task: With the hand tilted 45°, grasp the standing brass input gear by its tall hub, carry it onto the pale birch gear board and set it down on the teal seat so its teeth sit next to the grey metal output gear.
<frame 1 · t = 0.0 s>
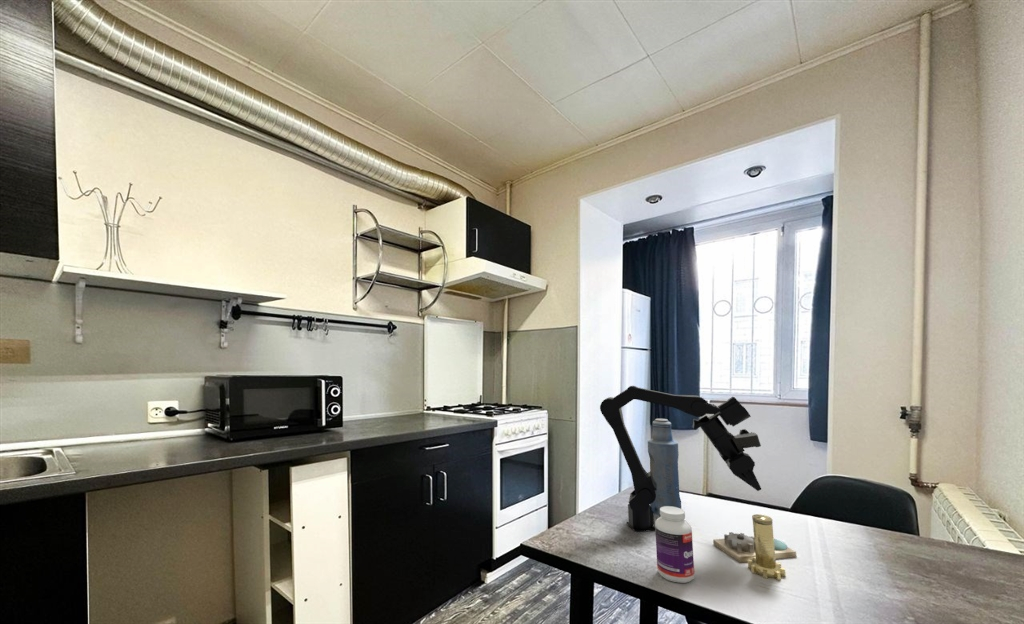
hand: (755, 485, 111), 15 cm above the table, tool tilted 35°, fingers open, 9 cm apart
input gear: (766, 571, 94), on the table
bottle: (666, 512, 132), on the table
gear board: (753, 550, 105), on the table
pill bottle: (675, 576, 93), on the table
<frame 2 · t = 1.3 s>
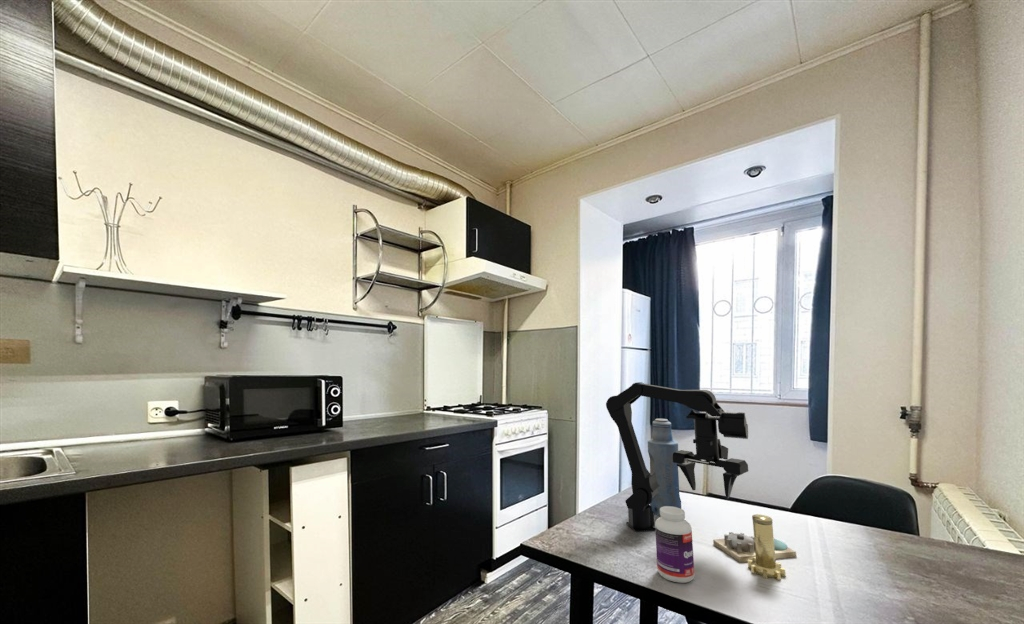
hand: (710, 493, 110), 13 cm above the table, tool pointing down, fingers open, 9 cm apart
nothing on the table moved.
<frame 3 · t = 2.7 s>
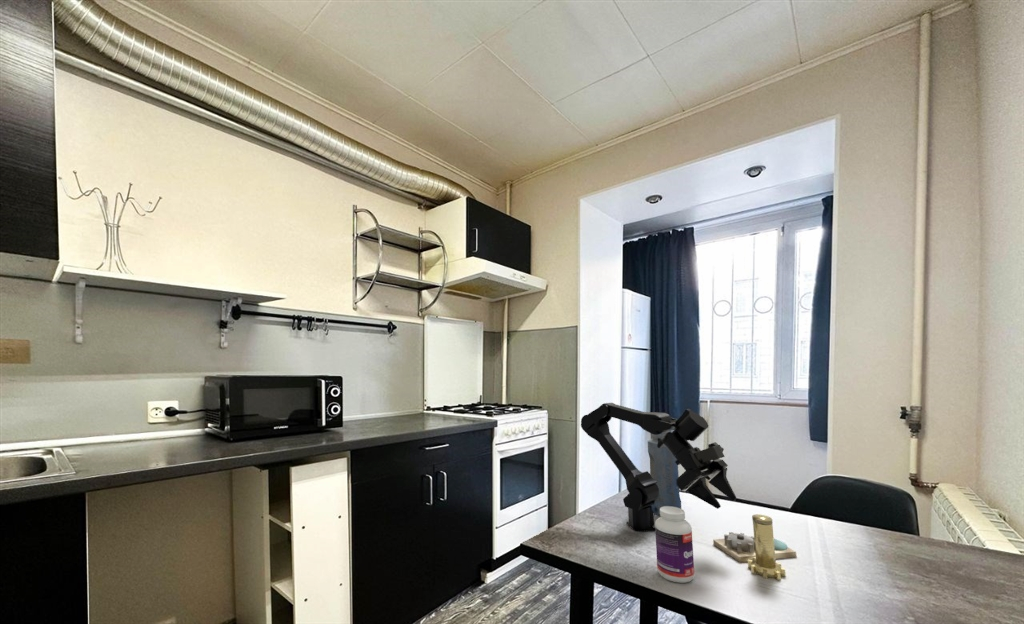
hand: (727, 503, 102), 13 cm above the table, tool tilted 45°, fingers open, 9 cm apart
nothing on the table moved.
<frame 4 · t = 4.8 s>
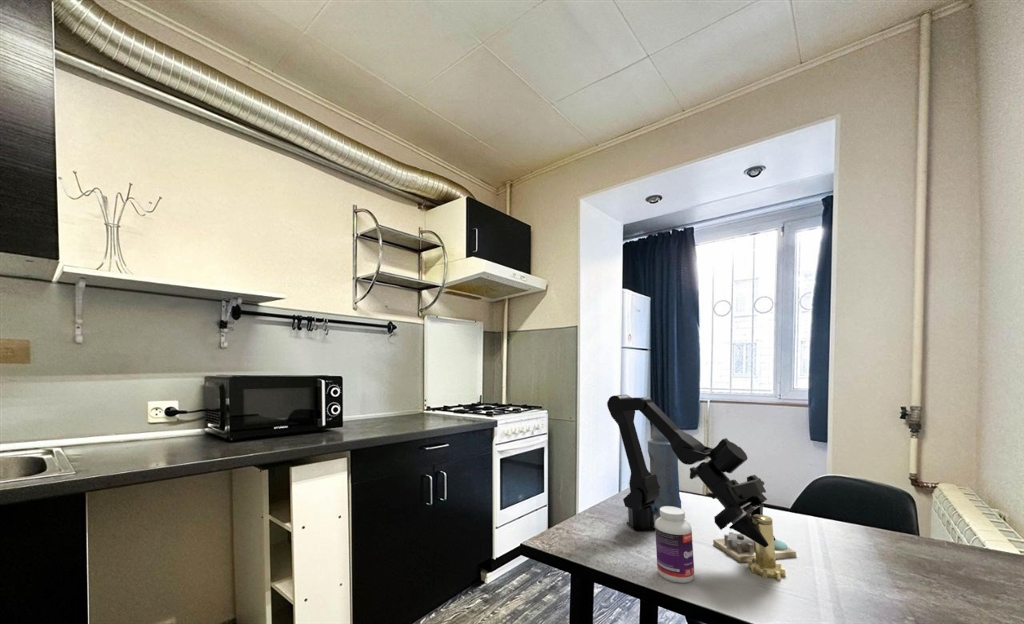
hand: (770, 543, 94), 7 cm above the table, tool tilted 45°, fingers closed on input gear, 4 cm apart
input gear: (766, 571, 94), on the table, touching gripper
everything else where it was.
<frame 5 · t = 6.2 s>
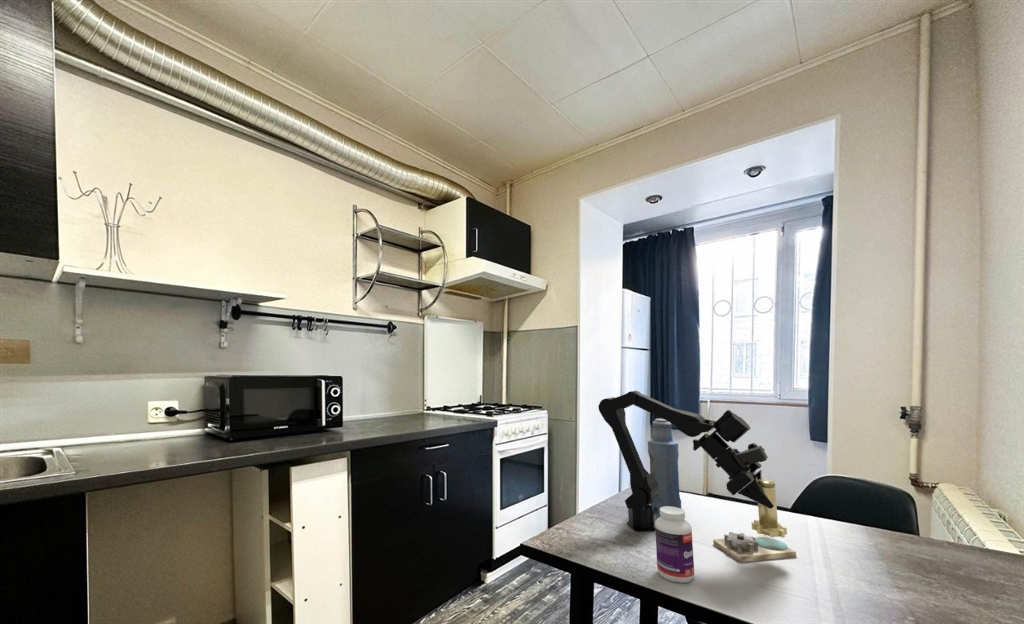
hand: (773, 505, 100), 13 cm above the table, tool tilted 45°, fingers closed on input gear, 4 cm apart
input gear: (769, 531, 100), point 7 cm above the table, touching gripper
everything else where it was.
when the fingers open (9 cm above the table, at t = 8.0 s): input gear drops 1 cm, resting on gear board.
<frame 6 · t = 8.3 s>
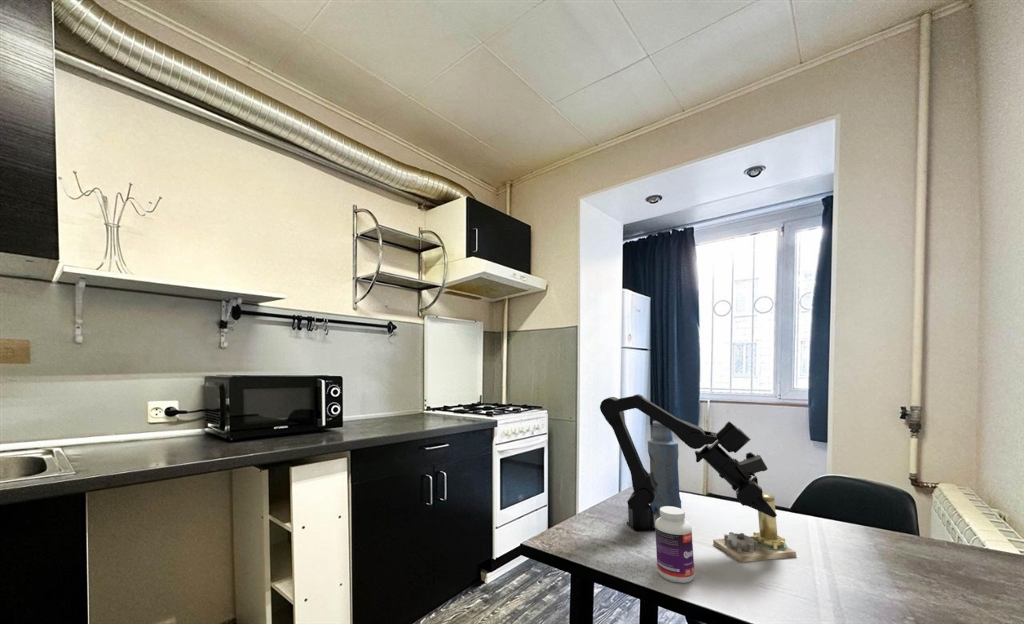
hand: (773, 511, 106), 10 cm above the table, tool tilted 45°, fingers open, 8 cm apart
input gear: (769, 542, 106), point 1 cm above the table, touching gear board
everything else where it was.
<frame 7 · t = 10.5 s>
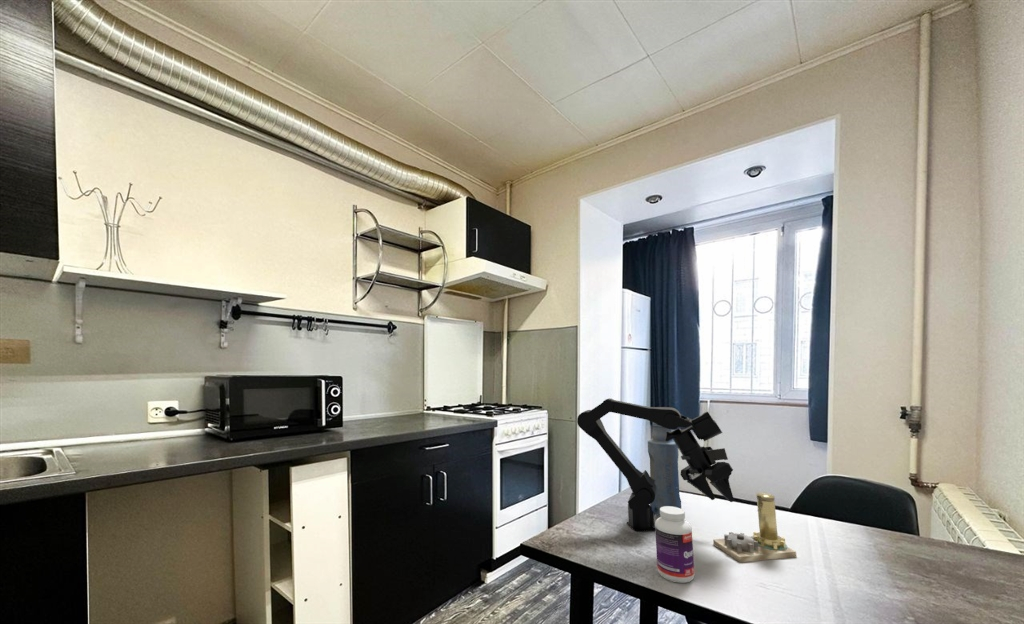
hand: (722, 500, 112), 10 cm above the table, tool tilted 30°, fingers open, 9 cm apart
nothing on the table moved.
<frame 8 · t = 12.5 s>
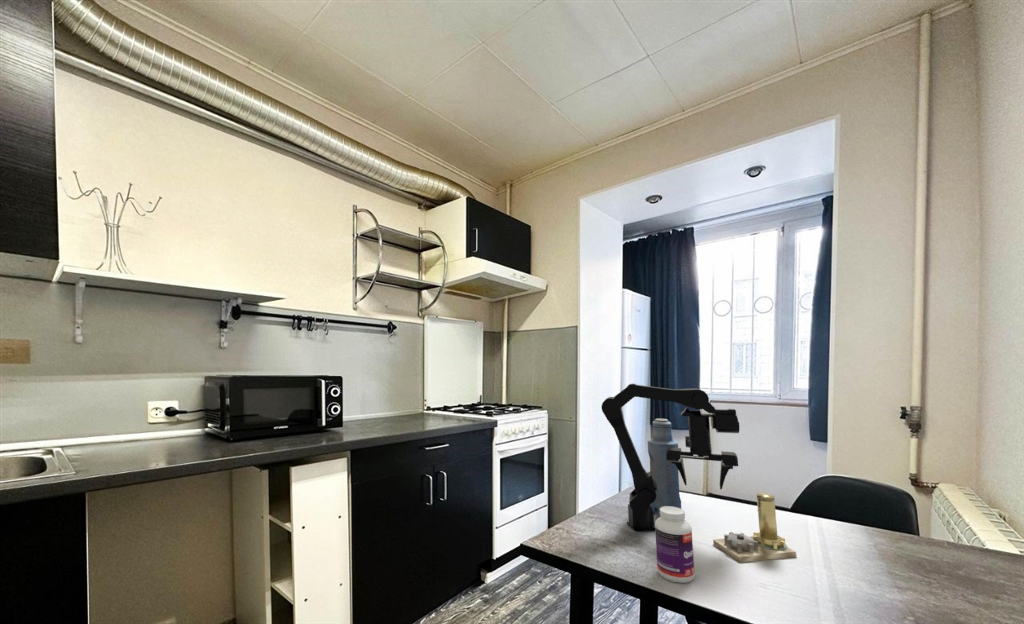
hand: (703, 487, 116), 13 cm above the table, tool pointing down, fingers open, 9 cm apart
nothing on the table moved.
at the end: input gear 0.1 cm from the target spot on the gear board, point 1.4 cm above the gear board's base; input gear tilted 0°; the gripper is holding nothing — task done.
